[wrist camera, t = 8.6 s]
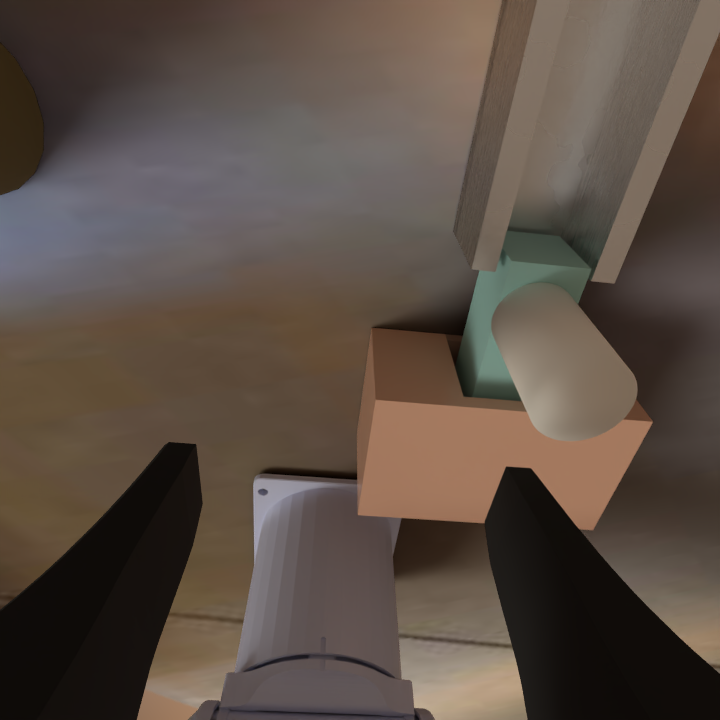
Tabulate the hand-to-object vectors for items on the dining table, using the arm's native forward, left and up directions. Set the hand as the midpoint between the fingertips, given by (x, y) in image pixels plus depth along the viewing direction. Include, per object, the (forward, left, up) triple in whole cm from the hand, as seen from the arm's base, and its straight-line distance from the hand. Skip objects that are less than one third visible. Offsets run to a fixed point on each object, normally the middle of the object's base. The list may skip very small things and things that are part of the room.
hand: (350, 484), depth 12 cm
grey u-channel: (+7, -6, -10) cm, 14 cm away
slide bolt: (-1, -6, -10) cm, 12 cm away
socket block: (-5, -6, -10) cm, 13 cm away
